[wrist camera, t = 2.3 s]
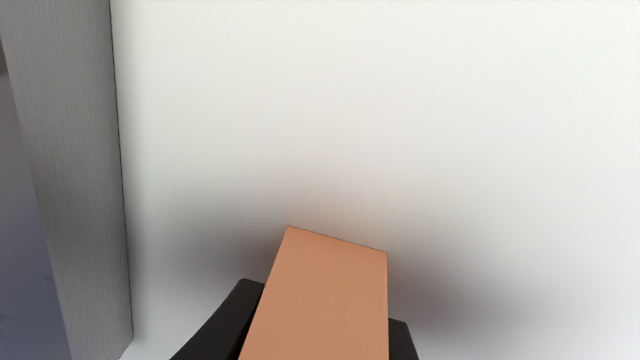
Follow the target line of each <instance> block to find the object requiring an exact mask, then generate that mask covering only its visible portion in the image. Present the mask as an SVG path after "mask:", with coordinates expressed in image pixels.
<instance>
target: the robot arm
mask: <svg viewBox="0 0 640 360" xmlns="http://www.w3.org/2000/svg"><path fill="white" fill-rule="evenodd" d="M263 289H264V283H260V282H256V281H253V280H249V279H245V278H243V279H241V280H239V282H238V283H237V285H236V286H235V287H234V289H233V290H232V291H231V293H230V294H229V295H228V297H227V298H226V299H225V301H224V302H223V303H222V304H221V305H220V307H219V308H218V309H217V310H216V311H215V312H214V314H213V315H212V316H211V317H210V318H209V319H208V320H207V321H206V323H205V324H204V325H203V326H202V327H201V328H200V329H199V330H198V331H197V332H196V333H195V335H194V336H193V337H192V338H191V339H190V340H189V341H188V342H187V343H186V344H185V345H184V346H183V347H182V348H181V349H180V350H179V351H178V352H177V353H176V354H175V355H174V356H173V357H172V358H171V359H170V360H238V359H239V356H240V353H241V351H242V348H243V345H244V342H245V340H246V337H247V334H248V332H249V329H250V326H251V324H252V321H253V318H254V315H255V313H256V310H257V307H258V305H259V302H260V299H261V296H262V294H263ZM388 341H389V360H419V358H418V355H417V352H416V349H415V346H414V344H413V341H412V338H411V335H410V332H409V329H408V326H407V324H406V323H405V322H402V321H398V320H394V319H391V318H388Z"/></svg>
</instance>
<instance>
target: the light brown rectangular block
mask: <svg viewBox="0 0 640 360" xmlns="http://www.w3.org/2000/svg"><path fill="white" fill-rule="evenodd" d="M238 360H389V341H388V292H387V252H383V251H380V250H376V249H372V248H368V247H365V246H361V245H357V244H354V243H350V242H346V241H343V240H339V239H335V238H332V237H328V236H324V235H321V234H317V233H313V232H310V231H306V230H302V229H299V228H295V227H291V226H287V229H286V232H285V234H284V237H283V240H282V242H281V245H280V248H279V251H278V253H277V256H276V259H275V261H274V264H273V267H272V269H271V272H270V275H269V278H268V280H267V283H266V286H265V288H264V291H263V294H262V296H261V299H260V302H259V305H258V307H257V310H256V313H255V315H254V318H253V321H252V324H251V326H250V329H249V332H248V334H247V337H246V340H245V342H244V345H243V348H242V351H241V353H240V356H239V359H238Z"/></svg>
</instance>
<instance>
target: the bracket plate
mask: <svg viewBox="0 0 640 360" xmlns="http://www.w3.org/2000/svg"><path fill="white" fill-rule="evenodd" d="M132 339H133V330H132V316H131V302H130V288H129V274H128V260H127V247H126V233H125V219H124V205H123V191H122V177H121V163H120V149H119V136H118V122H117V108H116V94H115V80H114V66H113V52H112V38H111V25H110V11H109V0H0V360H119V358H120V357H121V355H122V354H123V352H124V351H125V350H126V348H127V347H128V345H129V344H130V342H131V341H132Z"/></svg>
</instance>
